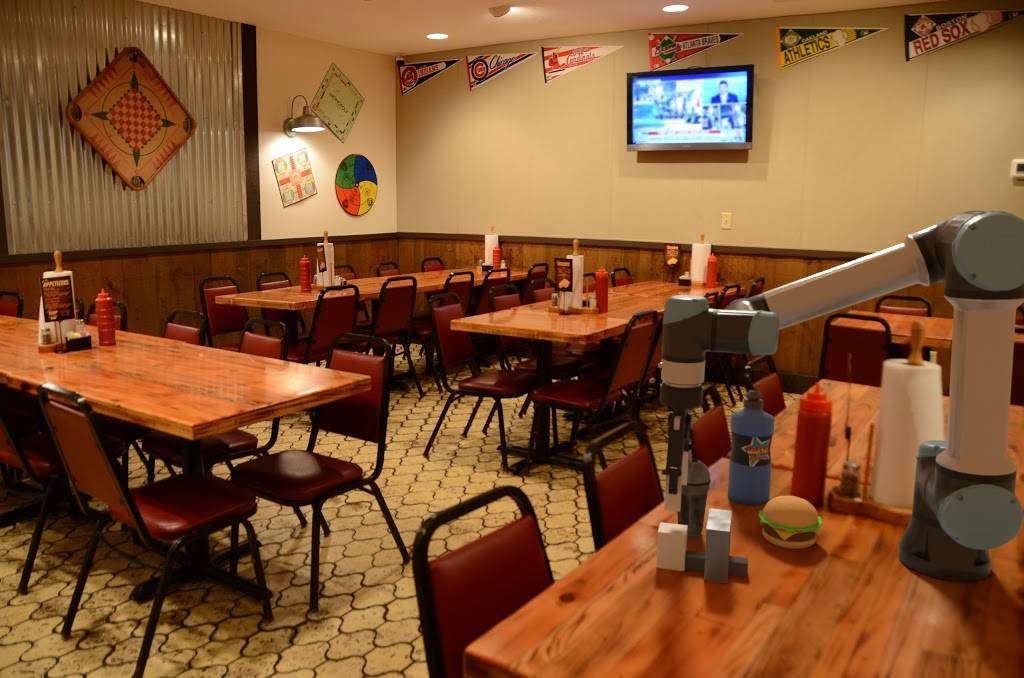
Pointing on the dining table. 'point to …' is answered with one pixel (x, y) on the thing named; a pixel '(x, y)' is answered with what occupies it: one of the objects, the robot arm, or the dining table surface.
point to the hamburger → (790, 522)
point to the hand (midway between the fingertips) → (676, 496)
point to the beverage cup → (694, 497)
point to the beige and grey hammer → (687, 552)
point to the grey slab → (717, 545)
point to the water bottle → (750, 452)
